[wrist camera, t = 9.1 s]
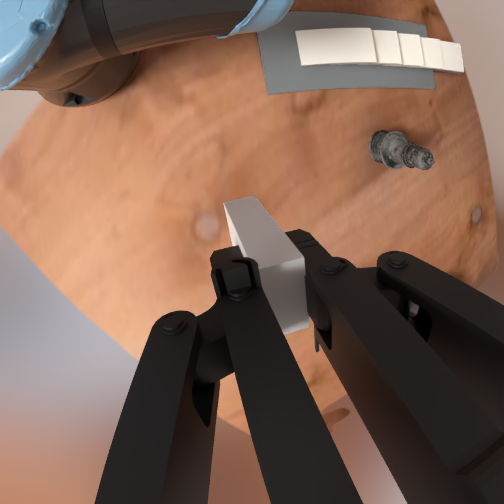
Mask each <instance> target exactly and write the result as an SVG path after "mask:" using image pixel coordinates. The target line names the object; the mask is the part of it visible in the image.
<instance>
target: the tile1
mask: <svg viewBox="0 0 504 504" xmlns="http://www.w3.org/2000/svg"><path fill="white" fill-rule="evenodd" d="M295 33H296V38H297V44H298V49H299V55H300V60H301V66H313V65H327V64H349V63H376V62H377V60H376V54H375V48H374V42H373V37H372V32H371V28H329V29H312V30H300V31H295Z"/></svg>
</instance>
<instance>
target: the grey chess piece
mask: <svg viewBox="0 0 504 504" xmlns="http://www.w3.org/2000/svg"><path fill="white" fill-rule="evenodd" d="M369 152H370V155H371V157H372V158H373V159H374V160H375V161H377V162H379V163H384V165H385V166H387V167H388V168H390V169H399V168H401V167H403V166H404V165H406V166H407V167H409V168H414V167H417V168H419V169H422V170H428V169H429V168H431V166H432V164H434V163H435V162H434V160H433V155H432V153H431V151H429V150H428V149H425V148H422V147H419V146H418V145H417V144H416V143H413V142H411V143H409V141H408V139H407V137H406V136H405V135H404V134H403V133H401V132H399V131H392V132H387V131H384V130H380V131H377V132H375V133H374V134H373V135H372V137H371V139H370V141H369Z"/></svg>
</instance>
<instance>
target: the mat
mask: <svg viewBox="0 0 504 504" xmlns="http://www.w3.org/2000/svg"><path fill="white" fill-rule="evenodd" d="M329 28H371V30H386V31H397V33H403V34H415V35H419V36H420V37H424V38H428V35H427V30H426V26H425V25H421V24H416V23H411V22H406V21H401V20H395V19H389V18H383V17H376V16H368V15H360V14H350V13H337V12H316V11H288V13H287V14H286V15H285V16H284V17H283V18H282V20H281V21H279V22H278V23H277V24H275V25H273V26H272V27H270V28H268V29H267V30H264V31H260V32H256V33H257V38H258V43H259V49H260V54H261V60H262V65H263V71H264V76H265V82H266V88H267V94H268V95H271V94H279V93H287V92H297V91H308V90H320V89H337V88H371V87H384V88H417V89H433V90H435V83H434V74H433V70H425V69H421V68H408V67H398V66H383V65H358V64H344V65H331V64H327V65H313V66H301V60H300V55H299V49H298V44H297V38H296V33H295V31H300V30H312V29H329Z"/></svg>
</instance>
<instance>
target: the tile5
mask: <svg viewBox="0 0 504 504" xmlns="http://www.w3.org/2000/svg"><path fill="white" fill-rule="evenodd" d="M440 45H441V51H442V57H443V64H444V69H437V70H446V71H455V72H464V67H463V59H462V53H461V47H460V44H458V43H452V42H445V41H440ZM408 68H418V67H408ZM425 69H431V68H425Z"/></svg>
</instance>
